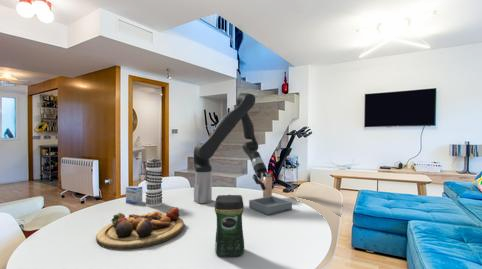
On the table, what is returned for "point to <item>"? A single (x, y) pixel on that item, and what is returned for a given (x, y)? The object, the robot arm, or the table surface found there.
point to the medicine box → (133, 194)
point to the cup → (267, 186)
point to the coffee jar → (229, 225)
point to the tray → (270, 205)
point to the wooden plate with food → (140, 230)
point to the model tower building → (153, 182)
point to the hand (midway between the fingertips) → (268, 188)
